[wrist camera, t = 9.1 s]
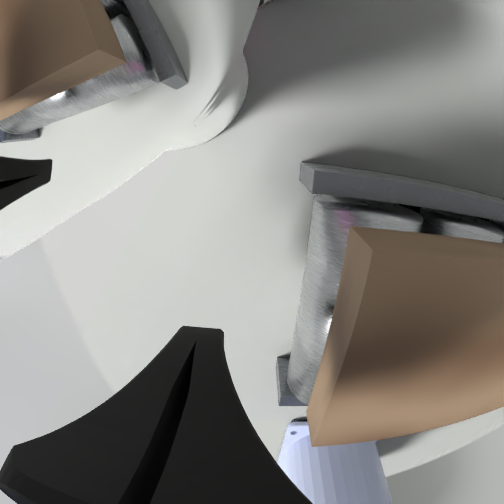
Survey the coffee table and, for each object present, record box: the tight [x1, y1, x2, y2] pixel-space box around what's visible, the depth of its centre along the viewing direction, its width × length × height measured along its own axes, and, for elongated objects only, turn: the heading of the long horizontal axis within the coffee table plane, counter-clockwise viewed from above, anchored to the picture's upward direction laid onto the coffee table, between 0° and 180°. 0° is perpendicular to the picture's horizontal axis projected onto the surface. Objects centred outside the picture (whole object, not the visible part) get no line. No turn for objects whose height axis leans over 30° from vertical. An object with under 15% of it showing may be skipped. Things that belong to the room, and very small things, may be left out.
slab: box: [306, 226, 504, 447], centre depth 10 cm, size 9×12×2 cm
